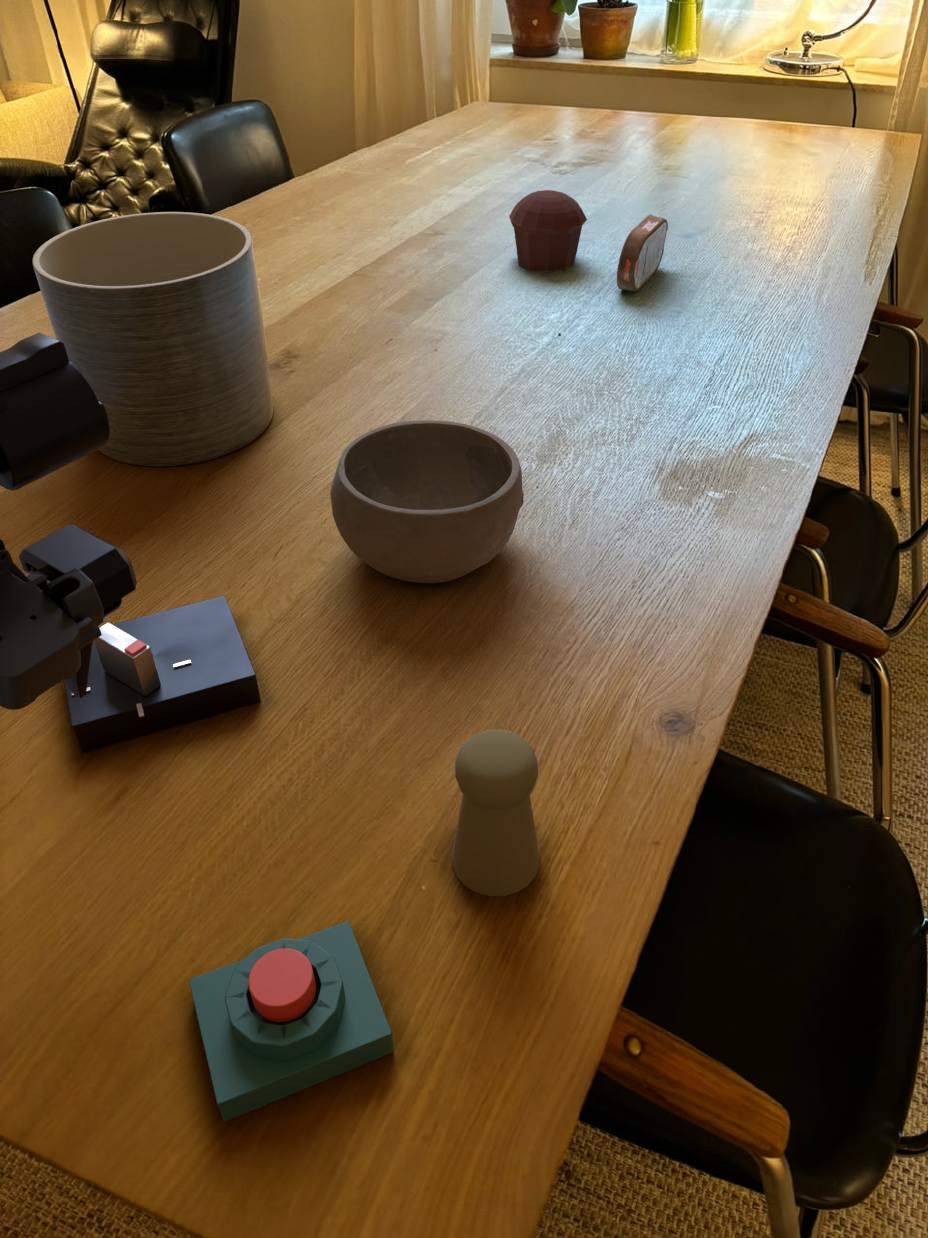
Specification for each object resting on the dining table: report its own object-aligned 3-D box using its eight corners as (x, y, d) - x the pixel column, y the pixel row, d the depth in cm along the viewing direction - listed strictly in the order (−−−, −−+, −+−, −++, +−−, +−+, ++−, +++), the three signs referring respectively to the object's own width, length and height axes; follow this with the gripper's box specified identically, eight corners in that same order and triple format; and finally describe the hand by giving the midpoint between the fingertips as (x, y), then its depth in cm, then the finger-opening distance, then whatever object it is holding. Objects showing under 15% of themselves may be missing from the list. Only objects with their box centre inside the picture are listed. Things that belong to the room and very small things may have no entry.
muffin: (494, 264, 152) (494, 196, 146) (533, 243, 159) (534, 177, 152) (560, 281, 147) (563, 211, 140) (597, 258, 153) (602, 190, 147)
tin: (646, 262, 152) (652, 205, 146) (666, 265, 151) (673, 208, 145) (612, 297, 142) (617, 238, 136) (633, 301, 140) (639, 241, 135)
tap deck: (83, 764, 75) (72, 735, 73) (66, 664, 84) (56, 636, 82) (264, 710, 79) (258, 682, 77) (230, 621, 88) (224, 593, 86)
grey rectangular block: (103, 671, 79) (90, 630, 76) (120, 660, 80) (107, 619, 77) (145, 696, 76) (132, 656, 73) (161, 685, 77) (149, 644, 74)
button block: (224, 1123, 55) (211, 1089, 52) (195, 998, 60) (182, 962, 58) (394, 1052, 58) (390, 1017, 55) (351, 940, 63) (346, 903, 61)
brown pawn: (459, 818, 71) (456, 709, 64) (544, 829, 70) (550, 720, 63) (444, 890, 66) (438, 781, 59) (534, 902, 65) (540, 793, 58)
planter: (241, 477, 106) (207, 293, 93) (48, 462, 109) (-11, 282, 96) (301, 382, 123) (279, 215, 110) (132, 371, 126) (92, 207, 113)
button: (261, 1032, 55) (256, 1016, 54) (246, 977, 57) (241, 961, 56) (324, 1008, 56) (320, 992, 55) (306, 955, 58) (302, 939, 57)
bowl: (531, 508, 101) (534, 420, 94) (505, 619, 87) (506, 525, 81) (367, 493, 103) (359, 406, 97) (317, 599, 90) (304, 506, 83)
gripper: (-181, 696, 41) (-51, 911, 51) (168, 496, 53) (219, 705, 63) (-298, 598, 47) (-159, 810, 57) (43, 435, 58) (108, 637, 68)
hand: (15, 737), depth 61 cm, fingers open, 9 cm apart
